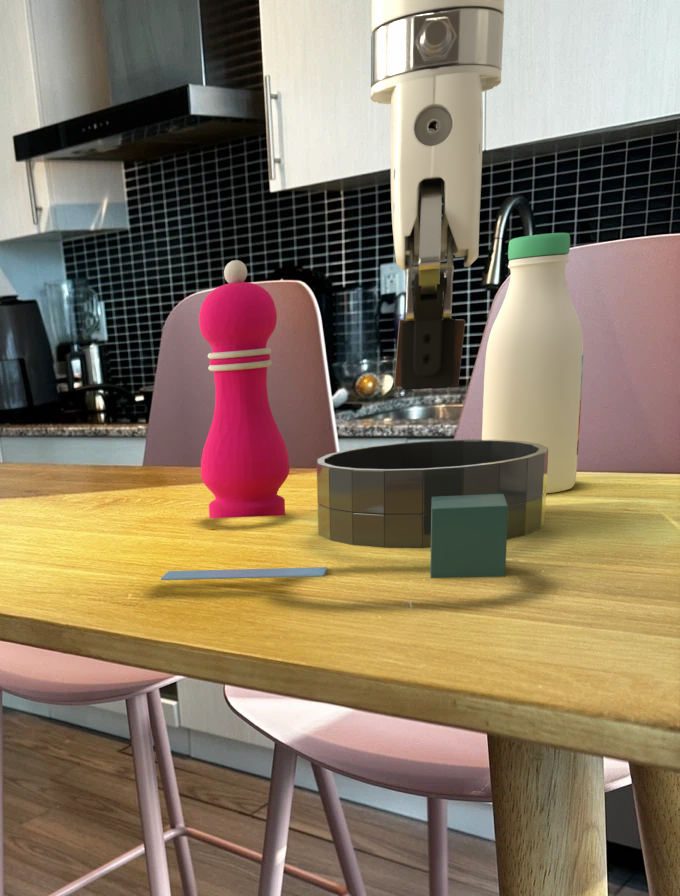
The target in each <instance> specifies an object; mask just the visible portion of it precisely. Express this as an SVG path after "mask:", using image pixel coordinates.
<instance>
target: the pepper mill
mask: <svg viewBox="0 0 680 896" xmlns="http://www.w3.org/2000/svg"><path fill="white" fill-rule="evenodd" d="M223 276H224V279H225V281H226V282H227V283H225V284H222V285H220V286H218V287H216V288H214V289H213V290H212V291H210V292H209V293H208V295H207V296H206V297H205V298H204V300H203V302H202V303H201V306H200V310H199V317H198V321H199V322H198V324H199V330H200V333H201V335H202V337H203V338H204V340H205V341H206V342H207V343H208V344H209V345H210V348H211V350H212V351H211V352H209V353H208V354H207V358H208V359H209V362H208V364H209V365H208V371H210V372H213V378H214V387H215V388H214V389H215V401H214V403H215V405H214V411H213V418H212V421H211V425H210V428H209V431H208V434H207V436H206V440H205V443H204V446H203V450H202V455H201V460H200V477H201V480H202V482H203V484H204V485H205V487H206V488H207V489H208V490H209V491H210V492H211V494H213V496H214V498H215V499H213V500H212V501H210V503H209V504H208V515H209V517H208V518H209V519H223V518H224V519H226V518H228V519H229V518H251V517H253V518H255V517H278V516H286V503H285V501H286V500H285V498H284V497H283V496H281V495H278V492H279V490H280V489H281V486H283V485H284V483H285V482H286V480H287V478H288V476H289V474H290V469H291V468H290V466H291V465H290V459H289V457H290V456H289V453H288V449H287V446H286V443H285V441H284V438H283V436H282V434H281V431H280V429H279V427H278V424H277V423H276V420H275V417H274V415H273V413H272V409H271V406H270V402H269V396H268V387H267V386H268V385H267V382H268V381H267V379H268V367H270V366H272V365H273V361H272V360H271V355H270V354H271V353H272V351H273V350H272V349H271V348H270V347H267V343H268V341H269V339H270V338H271V336H272V334H273V333H274V332H275V330H276V327H277V322H278V321H277V320H278V319H277V318H278V315H277V308H276V304H275V301H274V299H273V296H272V295H271V294H270V293H269V291H268V290H266V288H264V287H263V286H260V285H258V284H257V283H253V282H247V281H246V280H247V277H248V269H247V266H246V264H245V263H244V262H243V261H241V260H238V259H235V260H231V261H230V262H228V263H227V264H226V265H225V268H224V271H223Z"/></svg>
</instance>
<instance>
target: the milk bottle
mask: <svg viewBox="0 0 680 896" xmlns="http://www.w3.org/2000/svg"><path fill="white" fill-rule="evenodd" d="M570 249H571V236H570V233H568V232H553V233H552V232H551V233H541V234H540V233H539V234H531V235H526V236H524V235H523V236H519V237H514V238H512V239H510V240H509V242H508V249H507V258H508V260H509V261H508V266H507V268H508V269H509V270H510V278H509V283H508V286H507V290H506V293H505V297H504V299H503V302H502V304H501V306H500V309H499V310H498V314H497V316H496V318H495V319H494V322H493V325H492V327H491V329H490V332H489V336H488V340H487V344H486V351H485V362H484V377H483V396H482V397H483V400H482V401H483V402H482V425H481V427H482V429H481V440H512V441H525V442H531V443H538V444H541V445H543V446H545V447H547V448H548V449H549V450H548V469H547V487H546V494H552V493H559V492H564V491H567V490H570V489H572V488H573V487H575V486H574V485H575V484H576V481H577V471H578V458H579V444H580V443H579V442H580V427H581V413H582V396H583V395H582V394H583V393H582V392H583V378H584V377H583V376H584V375H583V374H584V335H583V330H582V325H581V322H580V318H579V316H578V312H577V310H576V308H575V305H574V302H573V299H572V298H571V295H570V290H569V287H568V284H567V277H566V266H567V263H569V261H570V259H569V254H570Z"/></svg>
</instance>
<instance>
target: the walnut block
mask: <svg viewBox="0 0 680 896" xmlns="http://www.w3.org/2000/svg"><path fill="white" fill-rule="evenodd" d="M452 319H453V318H451V320H452ZM454 319H455V318H454ZM442 320H443V319H442ZM414 322H415V320H414ZM402 323H406V319H400V320H399V321H398V331H397V344H396V356H395V367H394V380H393V386H394V388H395V387H396V388H397V387H399V388H400V387H401V388H402V386H401V346H402ZM465 327H466V320H465V319H463V318H461V319H460V318H459V319H457V318H456V319H455V344H454V372H453V383H452V385H451V386H449V387H448V388H459V385H460V375H461V374H460V373H461V365H462V356H463V346H464V337H465Z"/></svg>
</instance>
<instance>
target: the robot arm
mask: <svg viewBox="0 0 680 896" xmlns="http://www.w3.org/2000/svg"><path fill="white" fill-rule="evenodd" d="M370 21H371V36H370V99H371V101H372V102H374V103H378V104H383V105H390V204H391V205H390V206H391V225H392V234H393V235H392V236H393V247H394V255H395V263H396V266H397V267H398V268H400V269H401V270H403V271H405V277H406V285H405V286H406V287H405V288H406V289H405V293H406V294H405V320H406V323H402V346H401V386H402V387H401V388H402V389H403V390H406V391H408V390H409V391H412V390H426V389H427V390H429V389H446V388H450V387H449V386H451V385H452V383H453V372H454V344H455V318H452V316H453V315H452V311H453V310H452V309H453V285H454V284H453V282H454V272H455V266H454V258H463V267H464V268H467V267H470V266H471V265H472V264H473V263H474V262H475V261H476V260H477V259H478V258H479V254H480V253H479V251H480V250H479V248H480V245H479V244H480V220H481V219H480V215H481V213H480V212H481V197H482V196H481V195H482V193H481V192H482V172H483V171H482V170H483V140H484V139H483V137H484V136H483V134H484V128H483V127H484V123H483V122H484V119H483V118H484V115H483V111H484V109H483V108H484V107H483V93H484V92H488V91H490V90H492V89H494V88H495V87H498V86H499V85H500V84H501V83H502V68H503V49H504V48H503V45H504V26H505V25H504V24H505V0H371V20H370ZM442 319H443V320H442ZM451 319H452V320H451ZM414 320H415V322H414Z"/></svg>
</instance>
